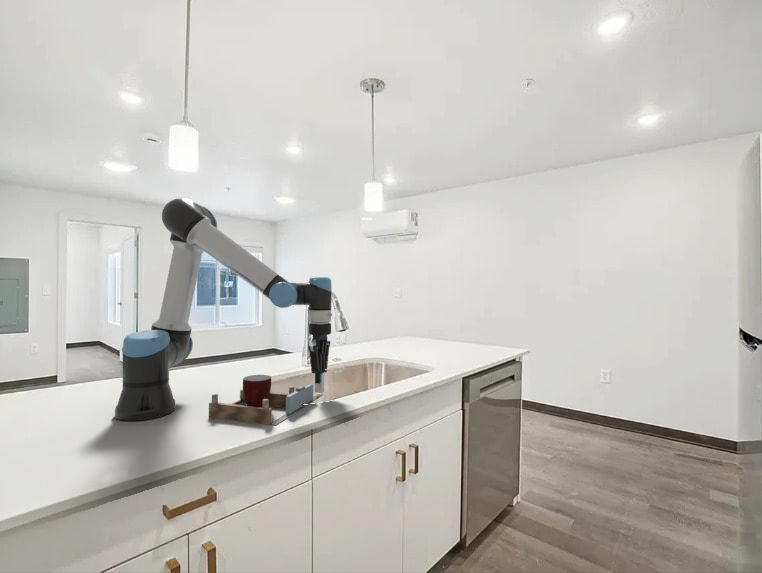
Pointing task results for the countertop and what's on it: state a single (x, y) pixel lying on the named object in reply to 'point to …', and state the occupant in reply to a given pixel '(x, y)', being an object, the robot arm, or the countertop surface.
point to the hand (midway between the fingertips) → (319, 392)
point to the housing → (253, 409)
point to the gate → (299, 398)
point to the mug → (256, 389)
